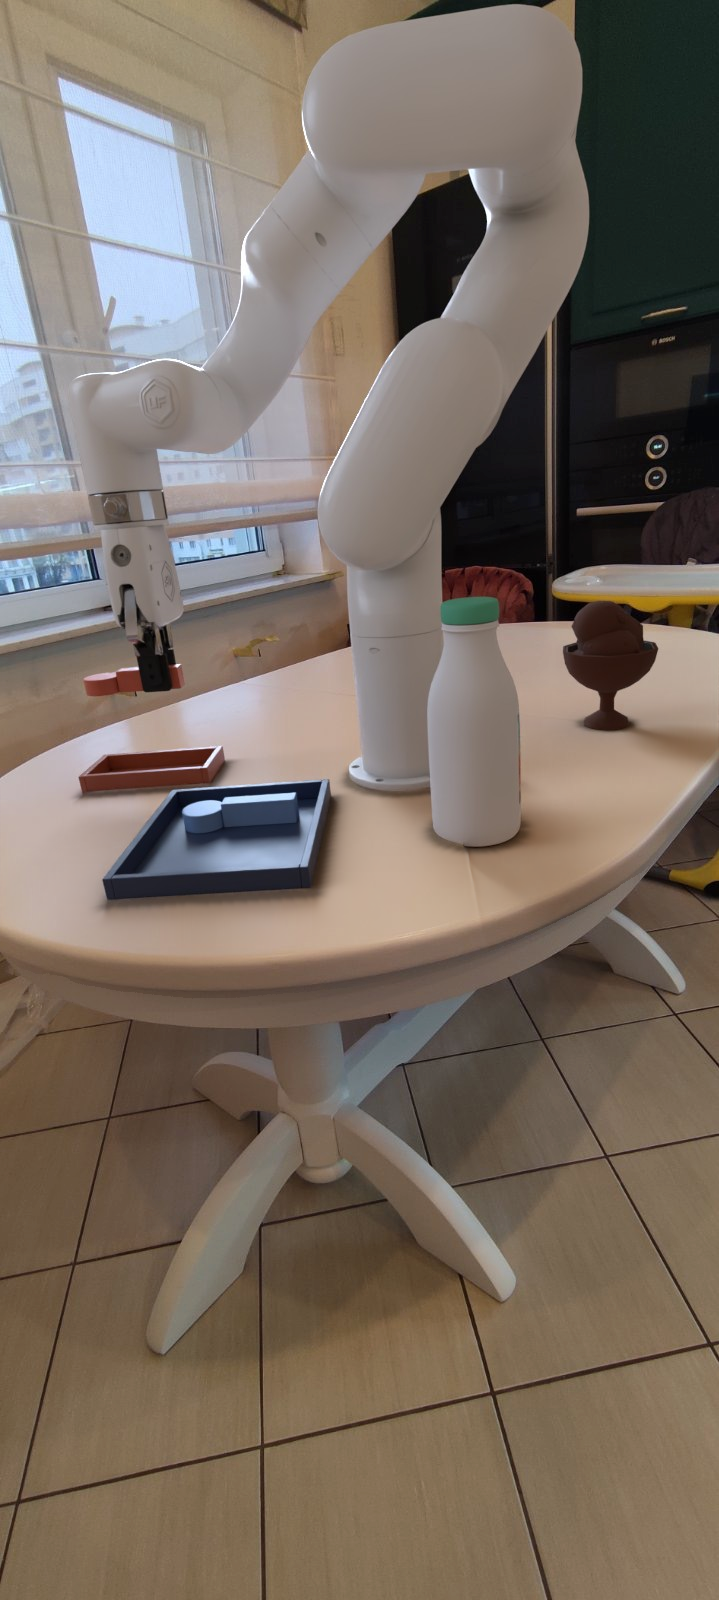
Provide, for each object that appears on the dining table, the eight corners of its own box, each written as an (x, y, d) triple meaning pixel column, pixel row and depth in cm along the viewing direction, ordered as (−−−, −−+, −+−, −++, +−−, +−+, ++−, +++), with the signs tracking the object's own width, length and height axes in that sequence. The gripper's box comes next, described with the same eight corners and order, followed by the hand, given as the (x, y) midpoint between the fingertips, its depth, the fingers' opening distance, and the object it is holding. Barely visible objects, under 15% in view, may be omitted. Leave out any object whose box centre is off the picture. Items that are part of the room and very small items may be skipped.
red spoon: (187, 682, 83) (184, 661, 82) (178, 691, 79) (174, 669, 79) (94, 689, 84) (90, 668, 83) (80, 697, 80) (76, 676, 79)
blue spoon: (300, 810, 71) (297, 788, 70) (295, 827, 67) (292, 803, 66) (191, 818, 72) (186, 795, 71) (180, 835, 68) (175, 811, 67)
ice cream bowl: (642, 740, 83) (650, 606, 77) (547, 731, 89) (548, 606, 83) (663, 715, 91) (671, 592, 85) (575, 709, 97) (577, 593, 91)
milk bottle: (520, 849, 60) (519, 603, 53) (428, 849, 62) (414, 609, 54) (520, 812, 67) (519, 590, 60) (437, 813, 69) (426, 596, 61)
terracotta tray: (225, 763, 89) (222, 745, 88) (210, 786, 81) (207, 767, 81) (108, 772, 90) (104, 754, 89) (82, 795, 83) (77, 776, 82)
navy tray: (331, 799, 74) (329, 778, 74) (311, 893, 56) (308, 866, 56) (176, 810, 76) (172, 789, 75) (108, 904, 58) (101, 879, 57)
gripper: (140, 510, 67) (174, 704, 74) (185, 509, 82) (211, 671, 89) (61, 517, 67) (103, 709, 74) (121, 514, 82) (151, 675, 89)
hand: (161, 687), depth 81 cm, fingers closed on red spoon, 2 cm apart
